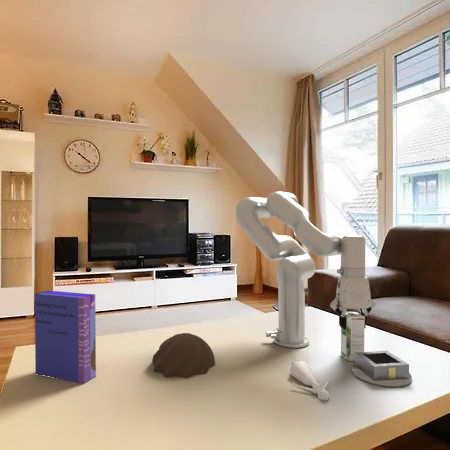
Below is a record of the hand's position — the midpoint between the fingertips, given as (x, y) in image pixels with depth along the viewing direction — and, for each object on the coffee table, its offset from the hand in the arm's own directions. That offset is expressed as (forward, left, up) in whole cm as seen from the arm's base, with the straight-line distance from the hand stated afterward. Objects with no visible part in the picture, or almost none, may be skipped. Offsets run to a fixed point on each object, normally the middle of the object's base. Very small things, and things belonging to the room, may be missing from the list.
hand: (352, 327), depth 117 cm
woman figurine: (-21, -16, -11) cm, 29 cm away
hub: (+2, -13, -10) cm, 17 cm away
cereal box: (-89, -1, -10) cm, 90 cm away
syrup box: (0, 0, -10) cm, 10 cm away
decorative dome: (-55, +2, -11) cm, 56 cm away
